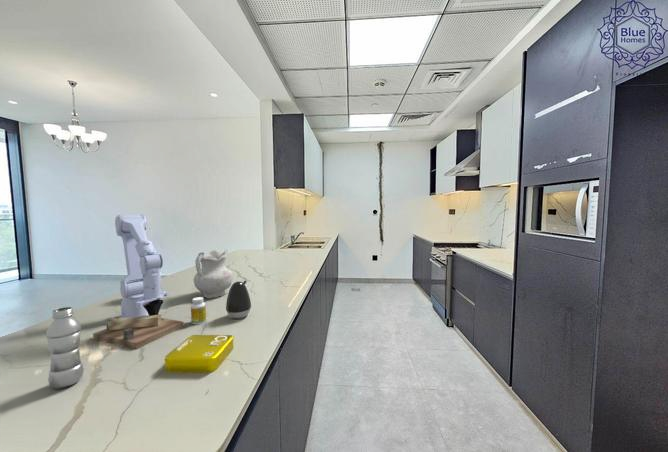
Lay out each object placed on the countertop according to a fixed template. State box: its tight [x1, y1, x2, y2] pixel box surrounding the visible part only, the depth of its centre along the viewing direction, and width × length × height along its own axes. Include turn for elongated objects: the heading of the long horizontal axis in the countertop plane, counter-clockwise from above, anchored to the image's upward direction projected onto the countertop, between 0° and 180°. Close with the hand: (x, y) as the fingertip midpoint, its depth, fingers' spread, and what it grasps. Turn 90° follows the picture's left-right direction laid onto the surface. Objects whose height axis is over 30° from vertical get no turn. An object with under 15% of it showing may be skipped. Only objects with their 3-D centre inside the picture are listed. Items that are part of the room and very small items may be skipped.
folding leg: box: [105, 314, 162, 330], centre depth 100 cm, size 17×3×4 cm, turn 104°
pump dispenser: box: [225, 280, 252, 320], centre depth 114 cm, size 10×10×15 cm
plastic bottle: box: [45, 306, 85, 389], centre depth 69 cm, size 6×7×20 cm
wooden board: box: [92, 315, 185, 350], centre depth 100 cm, size 22×18×5 cm
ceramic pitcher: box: [193, 249, 234, 299], centre depth 144 cm, size 22×20×25 cm
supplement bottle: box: [190, 296, 207, 325], centre depth 109 cm, size 5×5×10 cm
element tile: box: [164, 334, 234, 374], centre depth 82 cm, size 15×15×5 cm
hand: (153, 319), depth 104 cm, fingers closed
